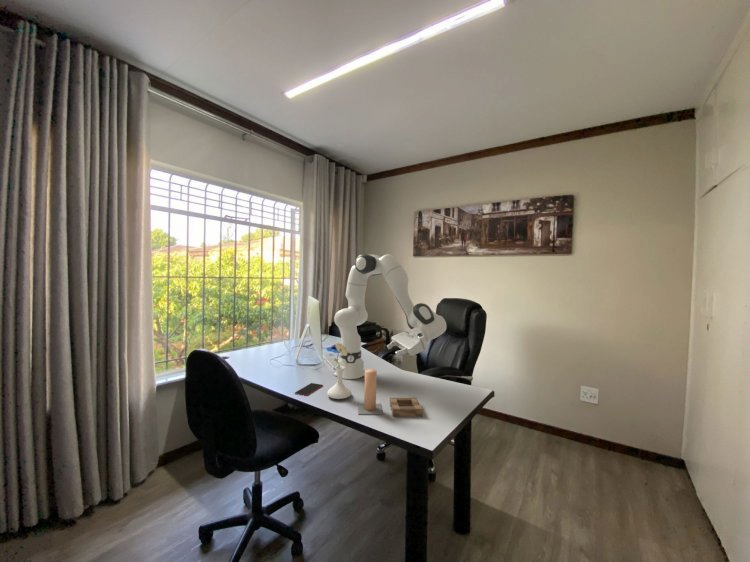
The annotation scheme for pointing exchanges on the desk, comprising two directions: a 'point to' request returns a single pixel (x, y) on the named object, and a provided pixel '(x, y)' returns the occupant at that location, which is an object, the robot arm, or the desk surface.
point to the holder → (405, 407)
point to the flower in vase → (339, 378)
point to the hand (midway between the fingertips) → (391, 350)
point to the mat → (364, 412)
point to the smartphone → (309, 389)
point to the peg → (370, 390)
